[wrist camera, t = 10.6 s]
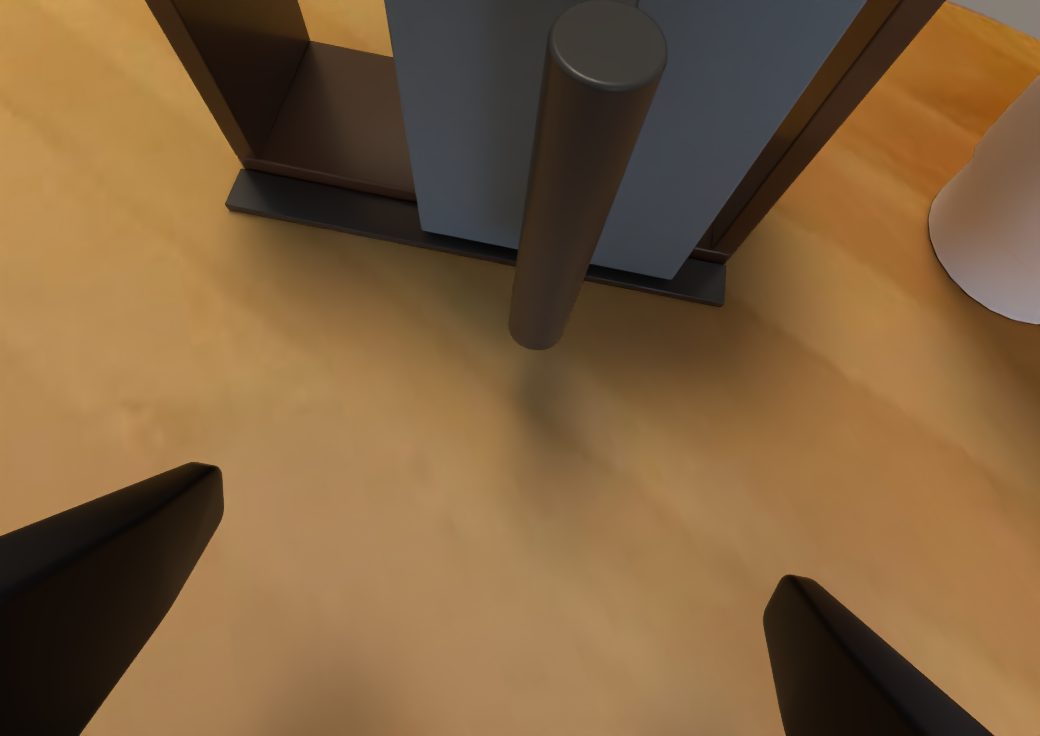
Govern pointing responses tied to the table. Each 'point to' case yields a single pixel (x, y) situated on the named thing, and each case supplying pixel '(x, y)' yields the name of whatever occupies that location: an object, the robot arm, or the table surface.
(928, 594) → the table surface
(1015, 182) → the cup
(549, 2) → the closet door
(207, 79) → the closet
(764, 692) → the table surface
